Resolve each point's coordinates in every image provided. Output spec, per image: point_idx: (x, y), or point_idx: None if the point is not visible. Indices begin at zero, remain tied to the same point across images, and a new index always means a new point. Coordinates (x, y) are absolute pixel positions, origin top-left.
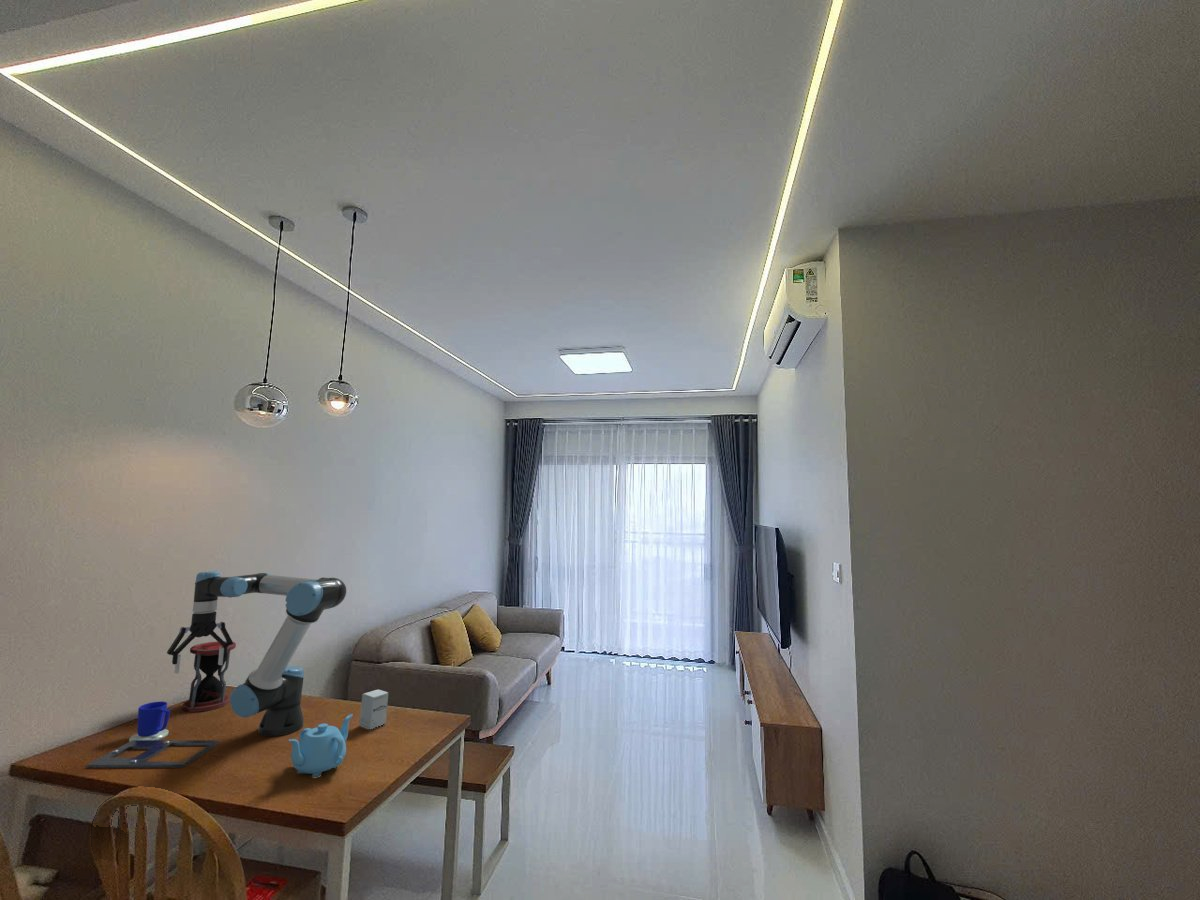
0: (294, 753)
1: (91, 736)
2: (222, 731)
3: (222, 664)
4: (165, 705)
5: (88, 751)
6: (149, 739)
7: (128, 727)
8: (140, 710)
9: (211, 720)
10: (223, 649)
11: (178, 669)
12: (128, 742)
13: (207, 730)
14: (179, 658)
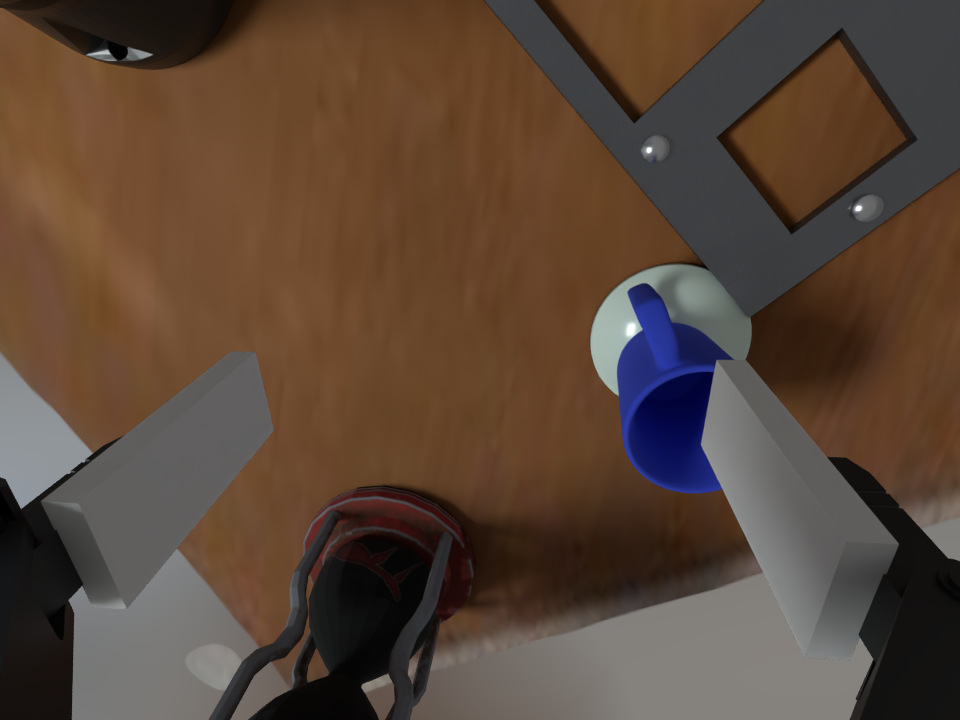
0: None
1: None
2: (393, 151)
3: (228, 354)
4: (646, 387)
5: (902, 350)
6: (689, 275)
7: (684, 518)
8: None
9: (406, 355)
10: (74, 481)
11: (743, 383)
12: (772, 300)
13: (447, 226)
14: (828, 490)
